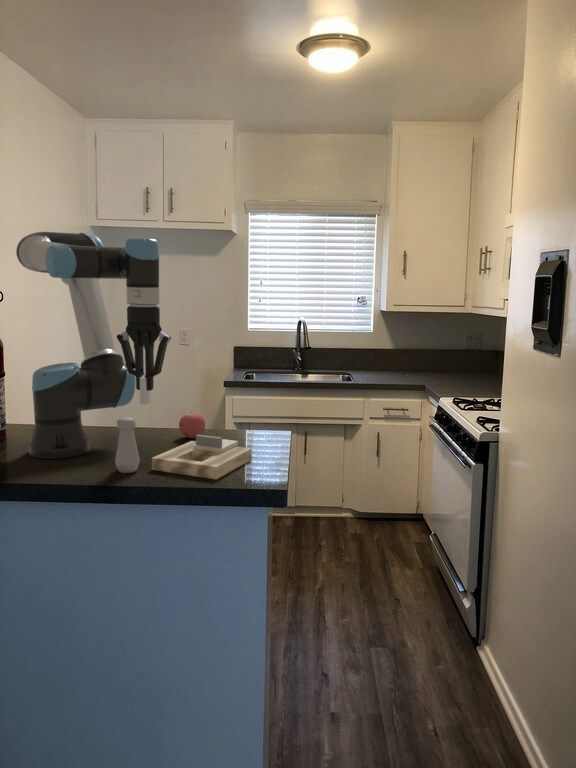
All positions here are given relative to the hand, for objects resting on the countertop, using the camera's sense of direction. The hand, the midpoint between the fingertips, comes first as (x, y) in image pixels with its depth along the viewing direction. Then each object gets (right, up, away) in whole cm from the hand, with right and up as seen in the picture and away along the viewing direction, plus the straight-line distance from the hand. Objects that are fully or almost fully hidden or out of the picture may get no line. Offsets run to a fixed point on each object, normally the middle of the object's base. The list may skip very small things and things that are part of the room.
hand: (145, 403), depth 152 cm
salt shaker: (-4, -17, 0) cm, 17 cm away
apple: (+7, -11, +32) cm, 35 cm away
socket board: (+13, -16, +6) cm, 21 cm away
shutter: (+16, -12, +11) cm, 22 cm away
